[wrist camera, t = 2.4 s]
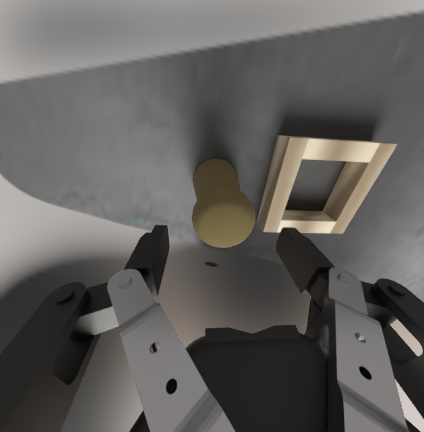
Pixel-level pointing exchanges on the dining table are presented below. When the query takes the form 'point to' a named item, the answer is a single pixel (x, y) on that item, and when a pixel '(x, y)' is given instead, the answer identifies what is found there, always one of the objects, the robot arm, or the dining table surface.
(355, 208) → the socket block
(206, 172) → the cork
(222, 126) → the dining table surface
